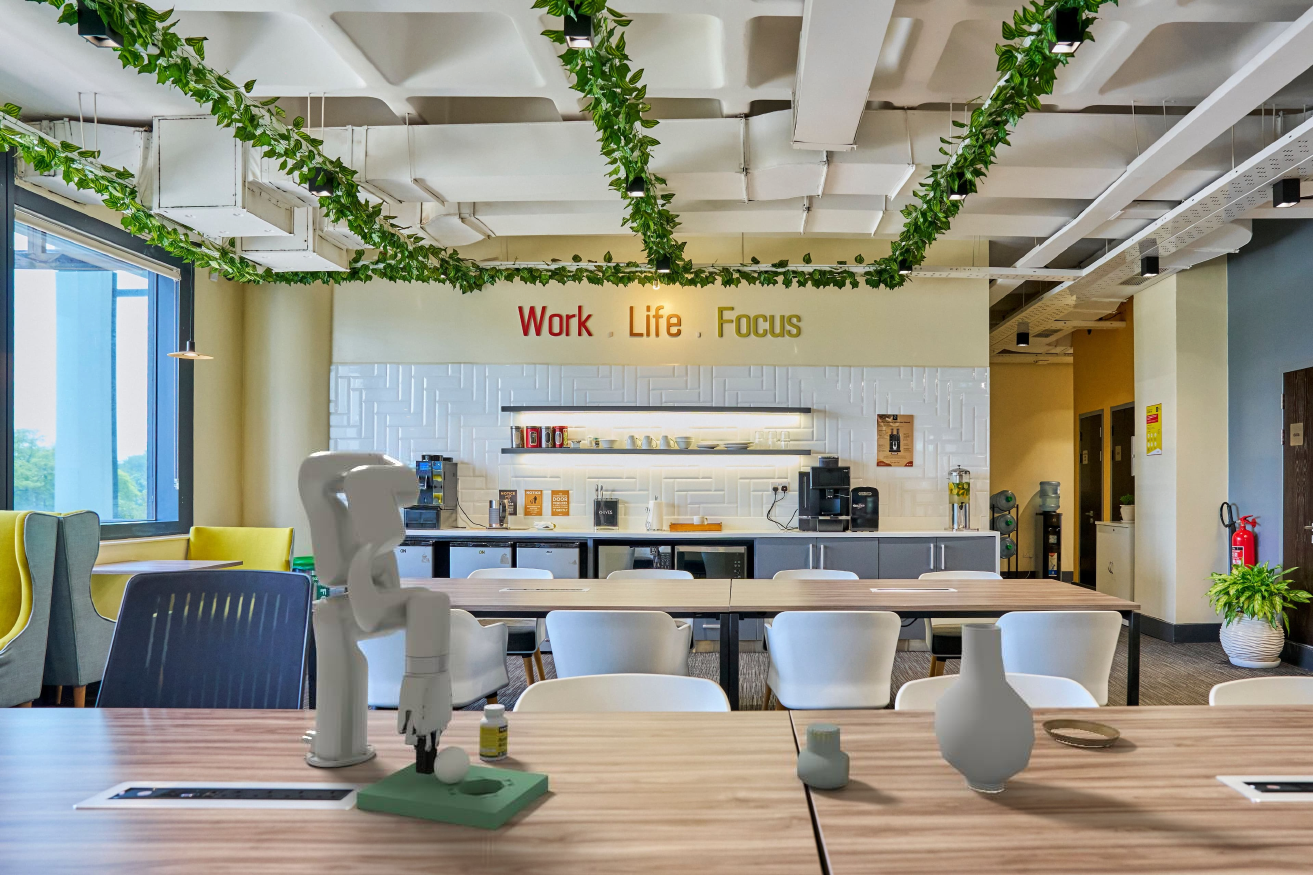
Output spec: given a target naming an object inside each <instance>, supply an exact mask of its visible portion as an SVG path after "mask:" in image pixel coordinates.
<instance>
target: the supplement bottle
mask: <svg viewBox="0 0 1313 875" xmlns="http://www.w3.org/2000/svg"><path fill="white" fill-rule="evenodd" d="M505 712H506V709H505V705H504V704H500V703H499V704H498V703H494V704H492V703H491V704H486V705H485V706H484V707H483V715H484V716H483V717H482V718H481V719H480V720H479V721H480V722H479V741H478V742H479V743H478V744H479V747H478V756H479V759H480V760H482V761H485V762H496V761H497V760H498V761H501V759H502V760H504V759H505V758H507V756H508V739H509V738H508V731H509V730H508V729H509V728H508V725H509V720H508V718H507V717H506V716H504V715H505Z"/></svg>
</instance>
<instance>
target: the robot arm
mask: <svg viewBox="0 0 1313 875" xmlns="http://www.w3.org/2000/svg"><path fill="white" fill-rule="evenodd" d="M297 478H298V480H297V485H298V486H297V488H298V493H299V496H300V500H301V504H302V506H303V508H304V511H305V514H306V517H307V519H308V520H307V521H308V523H309V528H310V530H309V531H310V539H311V547H312V555H313V564H314V572H315V576H316V578H317V581H318V583H319V584H320V585H321V586H322V587H325V588H328V589H330V588H331V589H335V588H336V589H339V588H342V589H343V588H346V590H347V592H345V593H338V594H332V595H329V596H327V597H324V598H323V599H322V600H321V599H320V601H319V602H318V603H317V604H316V605H315V606H314V608H313V613H312V627H313V633H314V634H313V635H314V639H315V648H316V691H315V692H316V694H315V695H316V696H315V697H316V700H315V702H316V703H315V704H316V705H315V731H314V730H307V731H306V732H305V734H304V736H302V738H301V744H304V745H310V750H309V751H307V753H306V755H305V756H306V758H305V760H306V762H307V764H309V765H311V766H314V767H321V768H338V767H346V766H351V765H357V764H360V763H362V762H365V761H368V760H369V759H372V757H374V756H375V754H376V747H375V745H373V744H371V743H369V742H368V721H369V720H368V717H369V716H368V715H369V714H368V713H369V712H368V710H369V707H368V706H369V663H368V659H367V656H366V655H365V654H364V652H363V651H362V650H361V648H360V647H359V645H358V642H362V641H366V640H374V639H380V638H387V637H390V636H393V635H394V634H396V633H398V632H399V631H405V639H404V640H405V649H404V655H405V658H404V659H405V660H404V675H403V676H402V679H401V685H400V690H399V697H398V707H397V708H398V709H397V734H399V735H405V738H404V744H405V745H408V746H413V750H414V751H415V762H416V772H417V773H421V774H429V775H430V774H432V773H434V762H435V759H436V757H437V755H438V747H439V746H440V741H441V740H440V738H441V736H442V733H443V732H444V731H446V730H447V729H448V724H450V722H451V720H452V717H453V688H452V676H451V598H450V595H449V594H448V593H447V592H444V591H438V590H437V591H436V590H434V591H433V590H431V589H429V588H427V587H423V586H409V587H402V585H401V579H400V572H399V565H398V560H397V555H396V553H395V550H394V549H396V548H397V547H398V546H400V544H402V543H403V542H404V541H405V538H406V536H407V532H406V527H405V524H404V522H403V518H402V516H401V513H400V509H402V508H406V509H407V508H411V507H412V506H414V505H415V504H416V503H417V502H418V500H419V498H420V495H421V493H420V492H421V485H420V480H419V477H418V475H417V474H416V473H415V471H414V470H413V469H412V467H410V466H408V465H407V464H405V463H403V462H401V461H399V460H397V459H395V458H393V457H391V456H390V455H386V454H384V453H379V452H368V451H367V452H364V451H346V450H345V451H343V450H341V451H340V450H339V451H337V450H333V451H332V450H331V451H330V450H329V451H328V450H327V451H318V452H314V453H311V454H310V455H308V456H307V457H305V458H304V459H303V460H302V462H301V464H300V467H299V471H298V477H297ZM338 494H344V495H345V497H346V502H347V504H348V505H347V504H346V503H345V502H344V501H343V500H342V499H340V497H339V496H338Z"/></svg>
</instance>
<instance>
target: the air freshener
mask: <svg viewBox="0 0 1313 875" xmlns="http://www.w3.org/2000/svg"><path fill="white" fill-rule="evenodd" d="M850 760H851V759H850V755H849V754H847V753H846V752H844V751H843V750H841V729H840V728H839V726H837V725H836V724H833V723H828V722H815V723H810V724H808V725H807V726H806V747H805V748H804V749H802V750H801V751H799V754H798V758H797V765H796V774H797V775H796V776H797V778H798V780H799V781H800V782H802V783H804V784H806V785H807V786H809V787H812V788H815V787H816V789H820V788H822V789H821V790H834V789H833V788H835V789H839V788H841V787H843V786H846V785H847V784H848V782H849V776H850V764H851V763H850V762H851V761H850ZM838 787H839V788H838Z"/></svg>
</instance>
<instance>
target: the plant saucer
mask: <svg viewBox="0 0 1313 875" xmlns="http://www.w3.org/2000/svg"><path fill="white" fill-rule="evenodd" d="M1041 727H1042V729H1043V730H1044V731H1045V732H1046V733H1047V735H1048V736H1049V737H1051V738H1052V737H1053V738H1055V739H1057V740H1060V741H1064V742H1068V743H1071V744H1077V745H1084V746H1107V745H1109V746H1111V745H1112V744H1113V743H1115V742H1116V741H1117V740H1118V739H1119V737H1120V736H1121V735H1122V734H1121V732H1120V730H1119V729H1117V728H1115V727H1113V726H1110V725H1107V724H1105V723H1099V722H1096V721H1090V720H1084V719H1083V720H1082V719H1073V718H1071V719H1070V718H1055V719H1048V720H1045V721H1043V722H1042V723H1041ZM1059 728H1073V729H1080V730H1084V731H1089V732H1093V733H1097V734H1100V735H1104V736H1106V737H1108V739H1086V738H1077V737H1071V736H1066V735H1061V734H1058V733H1054V732H1051V730H1052V729H1059ZM1053 738H1052V739H1053ZM1110 744H1111V745H1110ZM1107 747H1108V746H1107Z"/></svg>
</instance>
